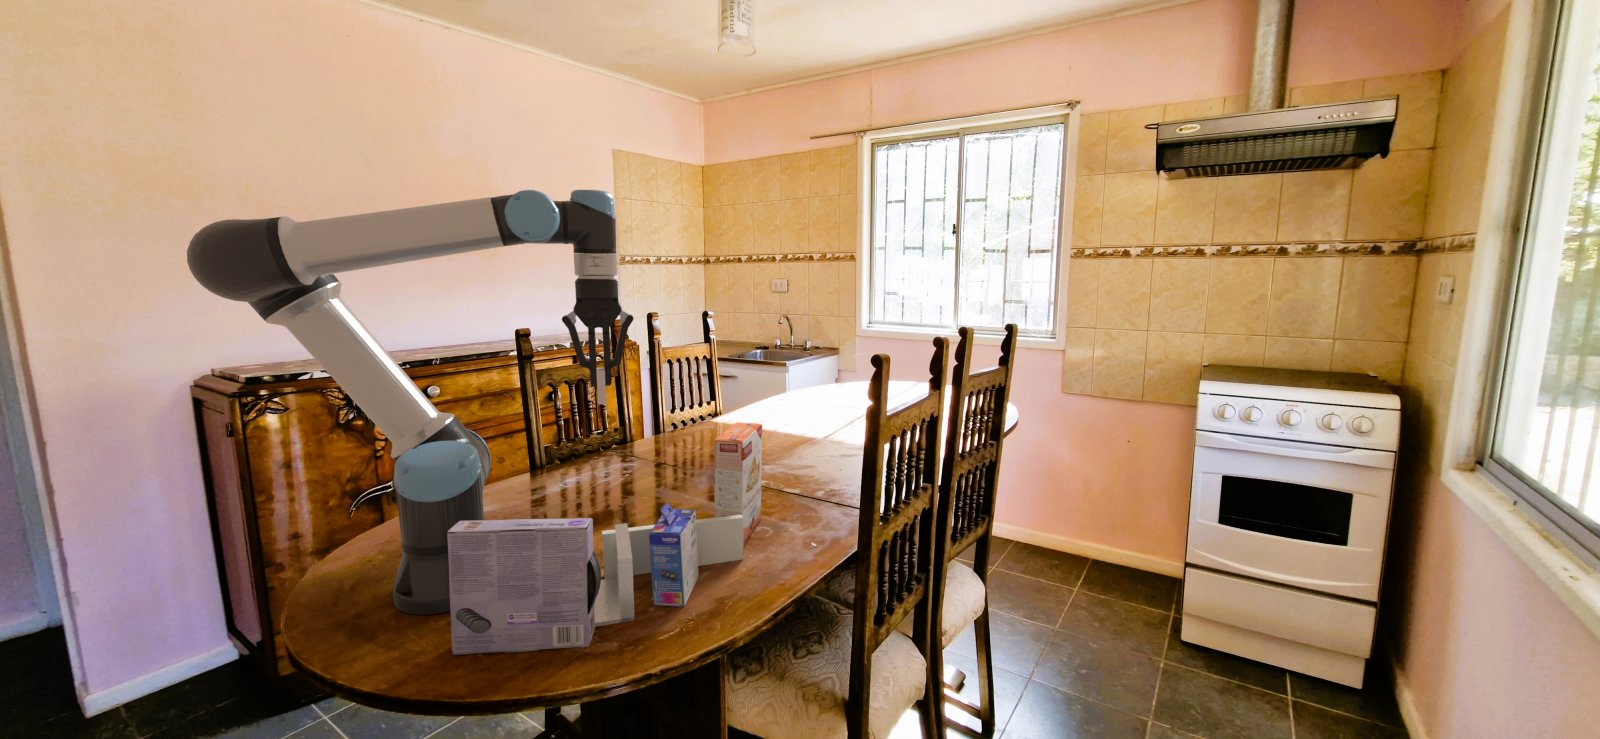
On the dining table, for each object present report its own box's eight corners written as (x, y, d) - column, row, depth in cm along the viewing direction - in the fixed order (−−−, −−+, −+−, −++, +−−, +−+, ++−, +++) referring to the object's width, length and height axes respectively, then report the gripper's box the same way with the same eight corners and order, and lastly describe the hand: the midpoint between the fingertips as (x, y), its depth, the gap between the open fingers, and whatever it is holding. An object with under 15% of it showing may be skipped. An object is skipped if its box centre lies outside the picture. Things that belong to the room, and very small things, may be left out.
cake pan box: (604, 627, 92) (598, 513, 89) (597, 648, 87) (592, 527, 84) (465, 636, 89) (455, 519, 86) (450, 658, 84) (439, 534, 81)
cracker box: (744, 549, 117) (743, 441, 114) (713, 545, 118) (712, 439, 115) (763, 519, 131) (763, 422, 127) (735, 517, 132) (734, 420, 129)
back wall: (604, 579, 105) (602, 534, 104) (604, 575, 107) (602, 530, 106) (743, 559, 113) (743, 517, 112) (741, 555, 114) (741, 514, 113)
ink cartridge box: (667, 575, 107) (665, 494, 105) (699, 576, 107) (697, 495, 104) (650, 606, 97) (647, 518, 95) (685, 607, 97) (683, 519, 95)
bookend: (577, 629, 91) (574, 565, 89) (579, 586, 103) (576, 529, 101) (634, 620, 93) (632, 557, 92) (629, 579, 106) (627, 523, 104)
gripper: (557, 277, 110) (564, 409, 113) (634, 278, 114) (638, 404, 118) (559, 277, 117) (566, 400, 120) (631, 277, 121) (635, 396, 125)
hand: (601, 402), depth 119 cm, fingers closed
